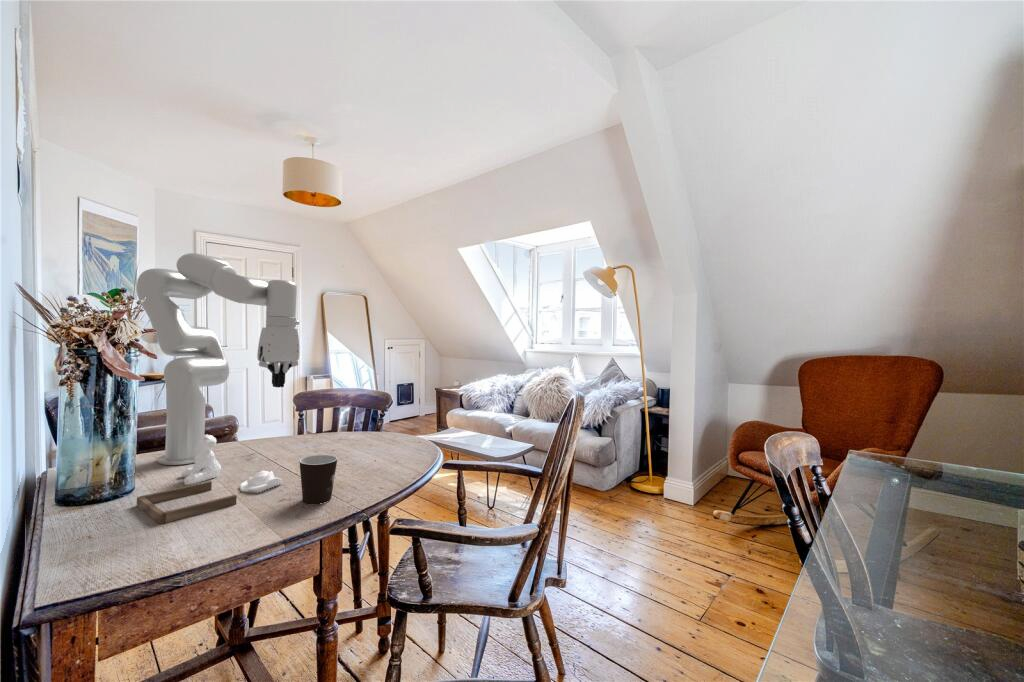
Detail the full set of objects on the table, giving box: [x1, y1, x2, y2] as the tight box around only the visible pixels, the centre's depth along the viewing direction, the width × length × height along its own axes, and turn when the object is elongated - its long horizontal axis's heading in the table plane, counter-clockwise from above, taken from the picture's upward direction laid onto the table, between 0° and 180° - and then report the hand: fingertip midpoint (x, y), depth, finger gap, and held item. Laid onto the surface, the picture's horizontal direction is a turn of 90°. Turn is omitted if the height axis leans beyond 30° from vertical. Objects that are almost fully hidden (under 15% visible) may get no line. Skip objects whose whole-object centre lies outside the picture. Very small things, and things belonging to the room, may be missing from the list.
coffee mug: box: [298, 454, 339, 505], centre depth 107 cm, size 12×9×10 cm
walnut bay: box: [136, 481, 238, 525], centre depth 99 cm, size 15×14×2 cm
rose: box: [239, 470, 283, 494], centre depth 113 cm, size 10×4×10 cm
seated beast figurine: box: [180, 433, 222, 486], centre depth 117 cm, size 10×9×12 cm
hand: (278, 386), depth 124 cm, fingers closed
